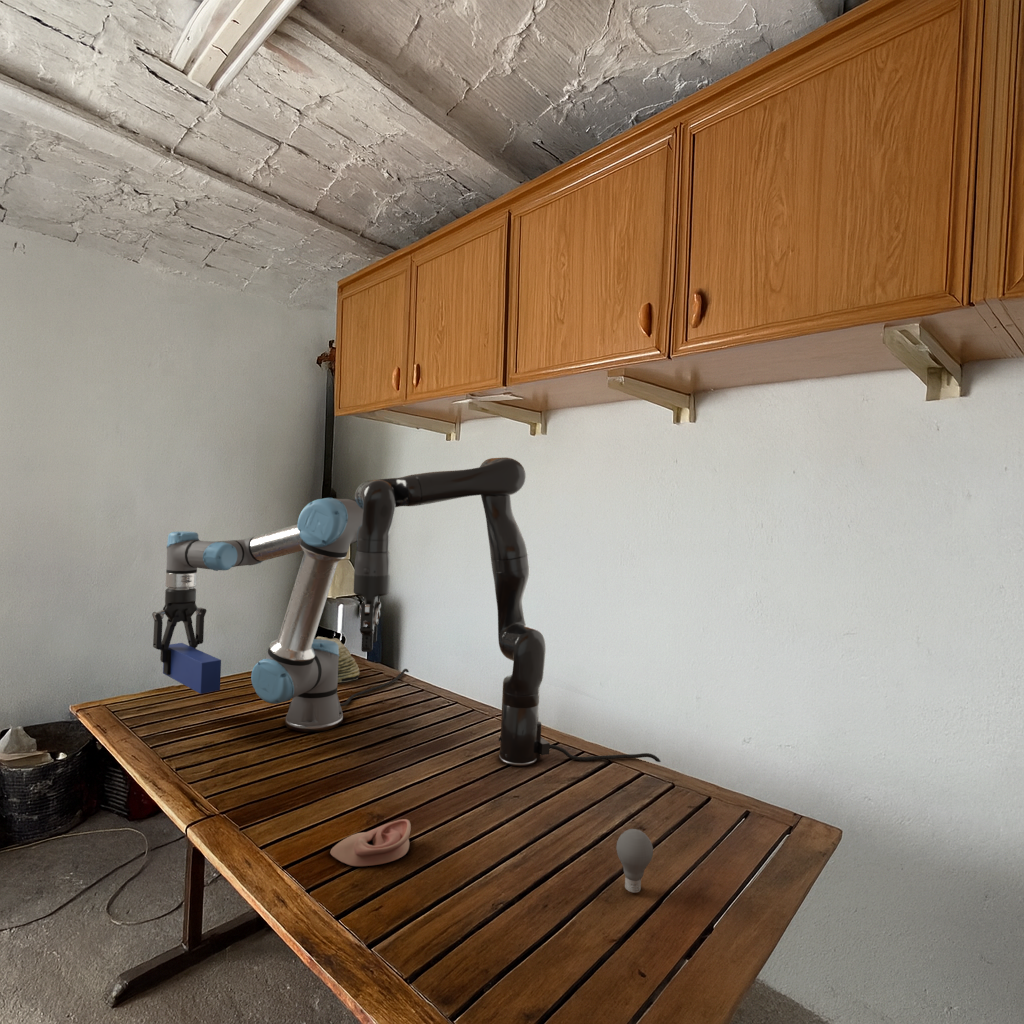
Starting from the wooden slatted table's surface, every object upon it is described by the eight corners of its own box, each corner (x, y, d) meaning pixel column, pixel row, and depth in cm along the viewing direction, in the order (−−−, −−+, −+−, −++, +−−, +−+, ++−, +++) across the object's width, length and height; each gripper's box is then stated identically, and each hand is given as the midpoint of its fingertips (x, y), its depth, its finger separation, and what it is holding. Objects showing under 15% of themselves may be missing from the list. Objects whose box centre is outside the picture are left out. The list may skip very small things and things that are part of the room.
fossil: (300, 681, 213) (301, 637, 213) (350, 673, 226) (352, 631, 226) (311, 688, 207) (313, 642, 207) (362, 679, 219) (364, 636, 219)
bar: (162, 673, 175) (163, 645, 175) (181, 670, 179) (182, 642, 179) (200, 694, 159) (201, 663, 159) (220, 690, 163) (221, 659, 163)
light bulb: (610, 879, 108) (613, 822, 108) (644, 879, 109) (647, 822, 109) (619, 902, 102) (622, 840, 102) (655, 901, 103) (658, 840, 103)
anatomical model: (322, 838, 110) (352, 807, 121) (321, 861, 110) (351, 828, 121) (394, 850, 107) (417, 817, 119) (393, 873, 107) (416, 838, 119)
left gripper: (150, 592, 165) (147, 680, 165) (219, 587, 178) (216, 669, 179) (140, 588, 170) (136, 674, 170) (208, 583, 183) (204, 663, 184)
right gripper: (386, 576, 130) (383, 655, 131) (392, 569, 144) (389, 639, 145) (349, 575, 129) (346, 654, 130) (358, 568, 144) (355, 639, 144)
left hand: (177, 671), depth 175 cm, fingers closed on bar, 5 cm apart
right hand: (369, 646), depth 137 cm, fingers open, 8 cm apart
